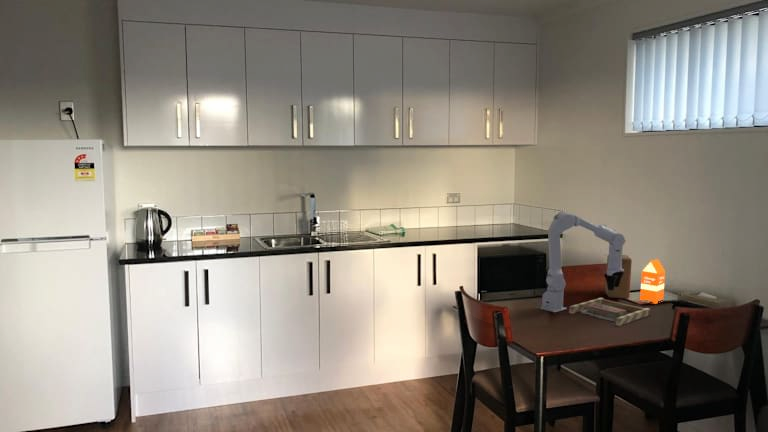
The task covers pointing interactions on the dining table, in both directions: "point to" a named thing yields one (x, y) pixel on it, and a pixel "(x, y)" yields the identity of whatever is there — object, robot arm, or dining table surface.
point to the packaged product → (604, 311)
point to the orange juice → (652, 282)
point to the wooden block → (622, 280)
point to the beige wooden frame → (621, 320)
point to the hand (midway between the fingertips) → (613, 288)
